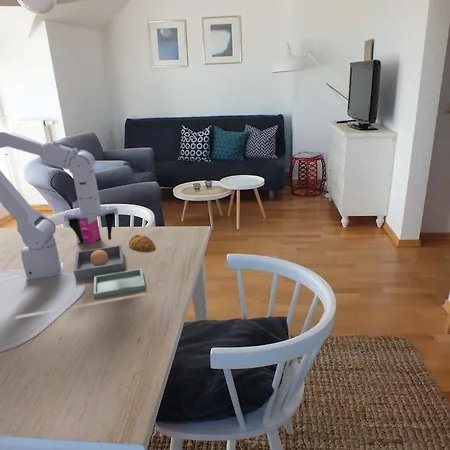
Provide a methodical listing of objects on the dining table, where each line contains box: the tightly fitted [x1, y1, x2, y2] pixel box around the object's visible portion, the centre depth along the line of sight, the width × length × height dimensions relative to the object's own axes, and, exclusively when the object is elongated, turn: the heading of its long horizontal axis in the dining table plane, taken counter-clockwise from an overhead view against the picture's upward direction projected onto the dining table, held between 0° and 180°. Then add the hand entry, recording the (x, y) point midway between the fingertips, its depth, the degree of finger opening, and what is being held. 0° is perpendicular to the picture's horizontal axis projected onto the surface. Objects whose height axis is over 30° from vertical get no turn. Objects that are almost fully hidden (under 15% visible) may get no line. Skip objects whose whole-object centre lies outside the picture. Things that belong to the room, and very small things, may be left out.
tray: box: [92, 268, 146, 299], centre depth 111 cm, size 13×10×2 cm
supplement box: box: [75, 209, 102, 245], centre depth 139 cm, size 6×6×12 cm
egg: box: [90, 250, 108, 266], centre depth 121 cm, size 5×5×5 cm
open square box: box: [73, 244, 126, 281], centre depth 122 cm, size 13×13×4 cm
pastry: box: [128, 234, 156, 252], centre depth 133 cm, size 9×7×4 cm
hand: (96, 240), depth 119 cm, fingers open, 7 cm apart
